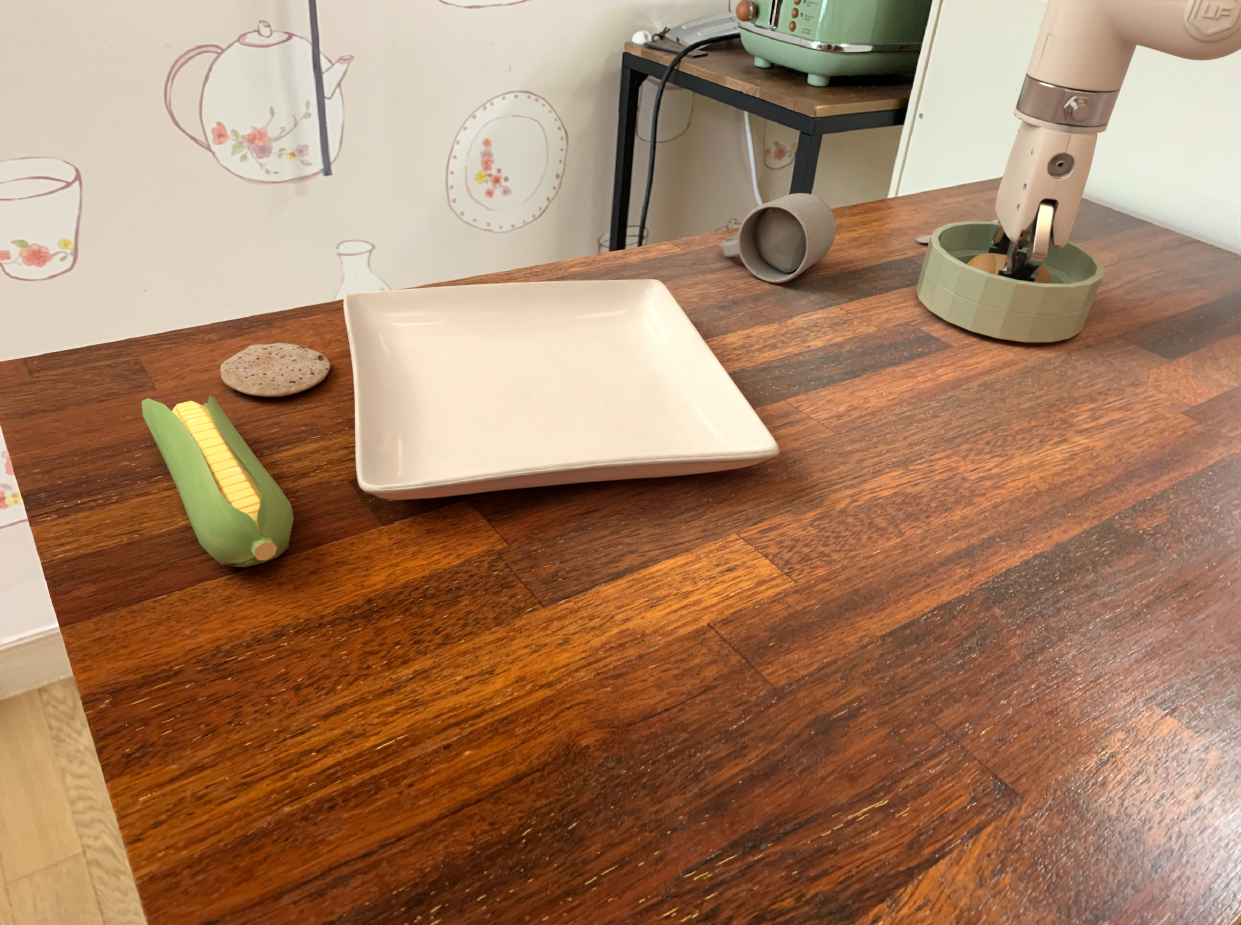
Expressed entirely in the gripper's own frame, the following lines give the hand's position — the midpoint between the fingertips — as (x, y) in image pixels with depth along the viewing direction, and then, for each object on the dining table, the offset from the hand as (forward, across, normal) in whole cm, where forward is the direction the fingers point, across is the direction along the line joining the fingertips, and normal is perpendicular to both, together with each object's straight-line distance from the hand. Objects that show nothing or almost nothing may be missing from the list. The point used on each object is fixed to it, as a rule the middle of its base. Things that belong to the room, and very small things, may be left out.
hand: (999, 298), depth 89 cm
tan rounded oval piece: (+1, 0, 0) cm, 1 cm away
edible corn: (+1, -45, +55) cm, 71 cm away
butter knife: (+1, +24, -4) cm, 25 cm away
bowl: (+1, 0, 0) cm, 1 cm away
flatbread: (+1, -31, +58) cm, 66 cm away
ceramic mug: (+1, +3, +22) cm, 22 cm away
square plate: (+1, -29, +38) cm, 48 cm away
